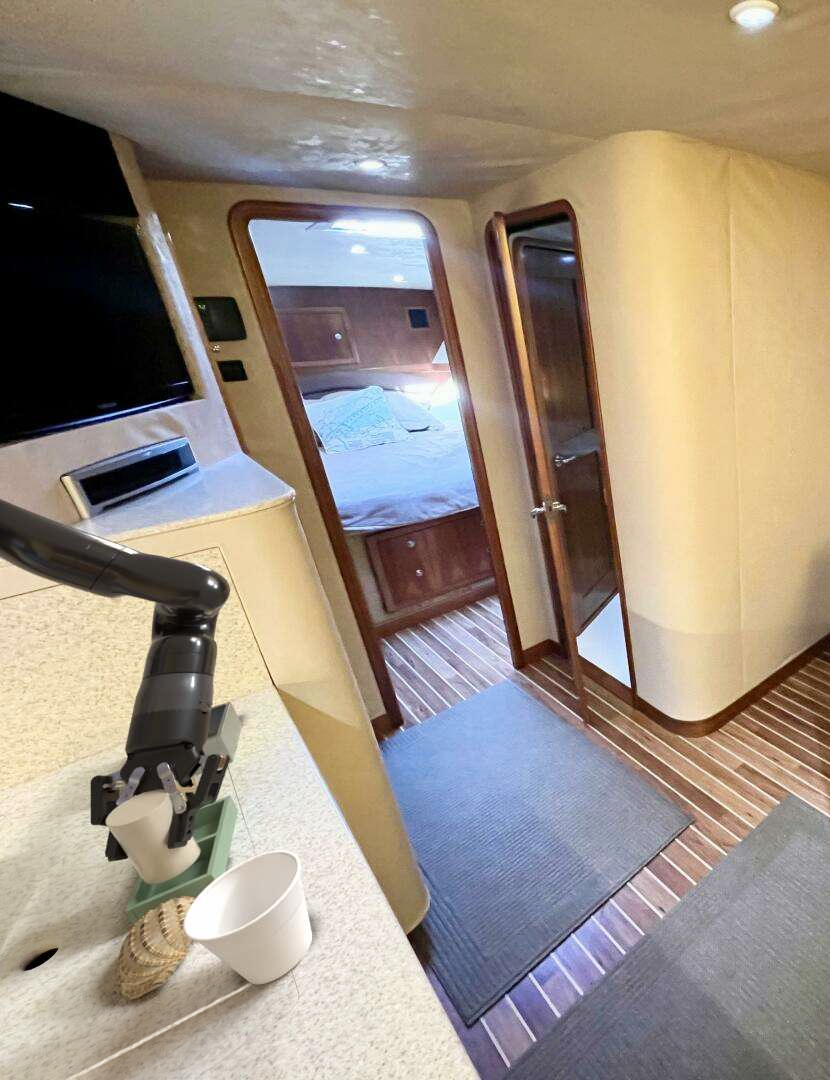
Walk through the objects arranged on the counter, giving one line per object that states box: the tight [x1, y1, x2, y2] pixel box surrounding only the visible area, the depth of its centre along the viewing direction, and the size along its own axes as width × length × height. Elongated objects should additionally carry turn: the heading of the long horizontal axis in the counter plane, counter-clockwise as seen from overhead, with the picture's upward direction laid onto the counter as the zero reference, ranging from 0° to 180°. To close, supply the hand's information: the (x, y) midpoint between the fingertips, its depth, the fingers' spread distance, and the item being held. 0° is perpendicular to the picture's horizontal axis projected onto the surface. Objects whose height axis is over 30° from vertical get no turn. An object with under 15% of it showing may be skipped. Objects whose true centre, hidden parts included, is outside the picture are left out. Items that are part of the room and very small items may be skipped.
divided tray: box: [124, 795, 239, 926], centre depth 72 cm, size 8×15×4 cm, turn 34°
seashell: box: [116, 896, 196, 1002], centre depth 61 cm, size 8×6×10 cm
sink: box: [193, 701, 243, 776], centre depth 92 cm, size 11×11×6 cm
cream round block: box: [106, 789, 201, 884], centre depth 67 cm, size 5×5×10 cm
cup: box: [183, 849, 313, 985], centre depth 59 cm, size 10×10×11 cm
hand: (148, 853), depth 65 cm, fingers closed on cream round block, 5 cm apart
